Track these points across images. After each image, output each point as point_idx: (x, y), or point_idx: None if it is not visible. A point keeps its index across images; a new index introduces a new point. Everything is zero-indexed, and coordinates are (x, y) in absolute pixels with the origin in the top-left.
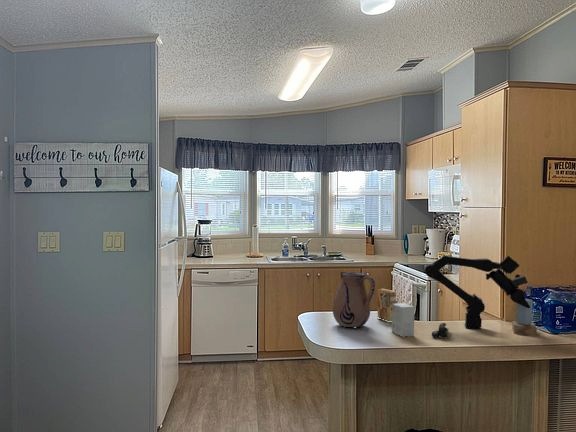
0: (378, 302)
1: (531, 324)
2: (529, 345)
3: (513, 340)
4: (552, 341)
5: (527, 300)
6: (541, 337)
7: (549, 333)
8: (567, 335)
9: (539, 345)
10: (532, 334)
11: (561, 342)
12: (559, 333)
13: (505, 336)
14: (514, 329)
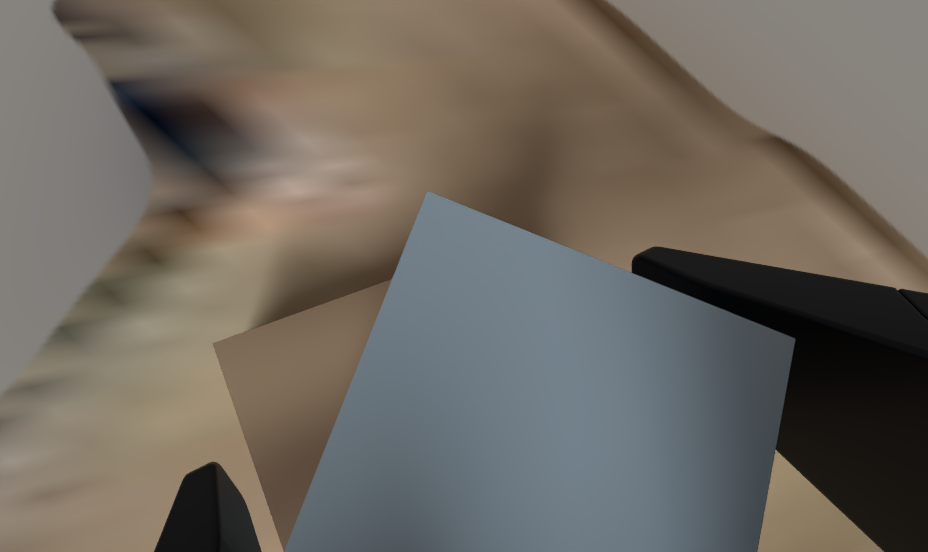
0: None
1: (357, 343)
2: (892, 232)
3: None
4: (587, 99)
5: (678, 320)
6: (511, 210)
7: (232, 176)
8: (179, 8)
9: (820, 166)
10: None
11: (555, 30)
12: (136, 86)
13: (789, 519)
14: None
